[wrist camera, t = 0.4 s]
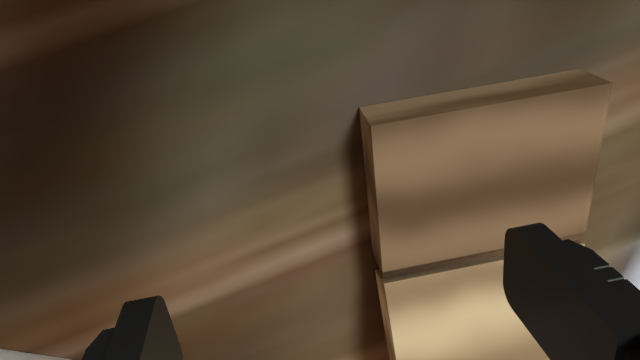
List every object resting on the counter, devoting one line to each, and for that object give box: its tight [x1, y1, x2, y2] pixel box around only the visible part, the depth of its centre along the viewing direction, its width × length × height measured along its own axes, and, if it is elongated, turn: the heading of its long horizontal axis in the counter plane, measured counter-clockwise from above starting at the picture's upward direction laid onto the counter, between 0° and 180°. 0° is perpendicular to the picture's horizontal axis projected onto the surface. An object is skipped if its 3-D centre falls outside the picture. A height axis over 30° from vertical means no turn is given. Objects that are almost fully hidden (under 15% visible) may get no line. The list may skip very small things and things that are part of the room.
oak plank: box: [375, 241, 585, 360], centre depth 34 cm, size 14×14×3 cm
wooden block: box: [359, 69, 612, 279], centre depth 31 cm, size 11×14×3 cm
